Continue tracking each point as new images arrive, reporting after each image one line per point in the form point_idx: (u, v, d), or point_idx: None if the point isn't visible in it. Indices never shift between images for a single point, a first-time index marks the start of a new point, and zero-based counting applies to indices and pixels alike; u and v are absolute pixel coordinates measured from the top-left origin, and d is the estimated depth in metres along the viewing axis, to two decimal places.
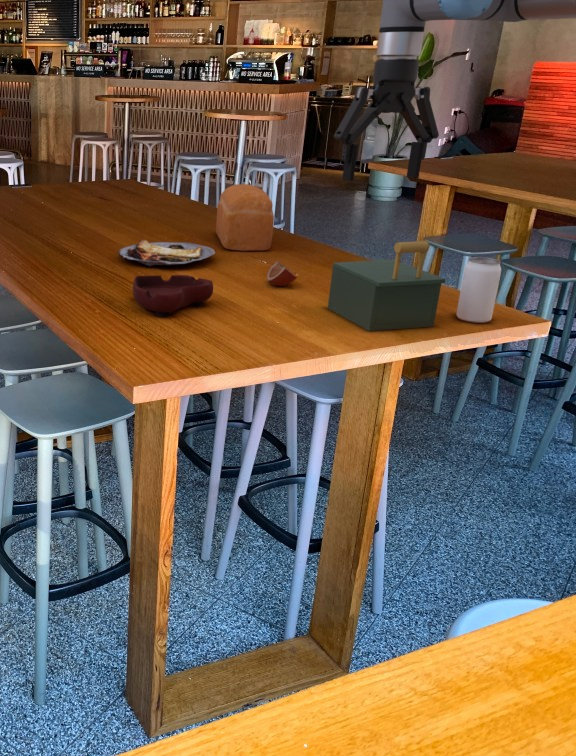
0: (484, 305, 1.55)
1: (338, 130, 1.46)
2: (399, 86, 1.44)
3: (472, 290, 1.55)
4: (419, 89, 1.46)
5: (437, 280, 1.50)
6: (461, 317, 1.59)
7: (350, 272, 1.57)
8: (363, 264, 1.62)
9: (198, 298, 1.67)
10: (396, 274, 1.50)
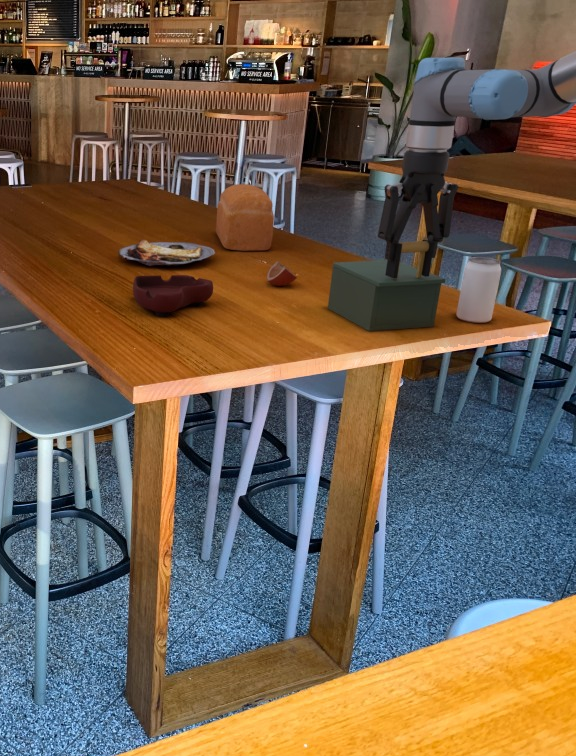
0: (484, 305, 1.55)
1: (380, 230, 1.47)
2: (429, 177, 1.43)
3: (472, 290, 1.55)
4: (448, 184, 1.45)
5: (437, 280, 1.50)
6: (461, 317, 1.59)
7: (350, 272, 1.57)
8: (363, 264, 1.62)
9: (198, 298, 1.67)
10: None
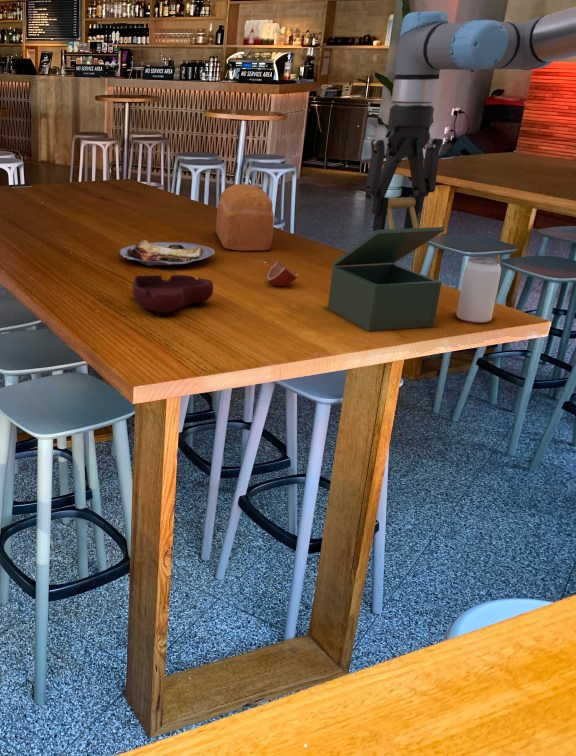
0: (484, 305, 1.55)
1: (367, 185, 1.50)
2: (414, 131, 1.46)
3: (472, 290, 1.55)
4: (433, 138, 1.48)
5: (436, 228, 1.49)
6: (461, 317, 1.59)
7: (350, 252, 1.57)
8: None
9: (198, 298, 1.67)
10: (392, 227, 1.50)
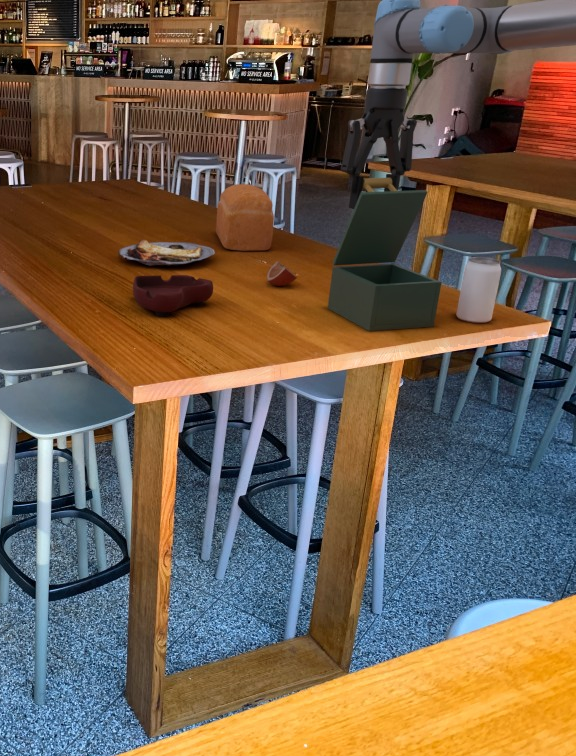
0: (484, 305, 1.55)
1: (343, 164, 1.57)
2: (389, 113, 1.53)
3: (472, 290, 1.55)
4: (407, 120, 1.55)
5: (418, 190, 1.54)
6: (461, 317, 1.59)
7: (344, 237, 1.59)
8: None
9: (198, 298, 1.67)
10: None
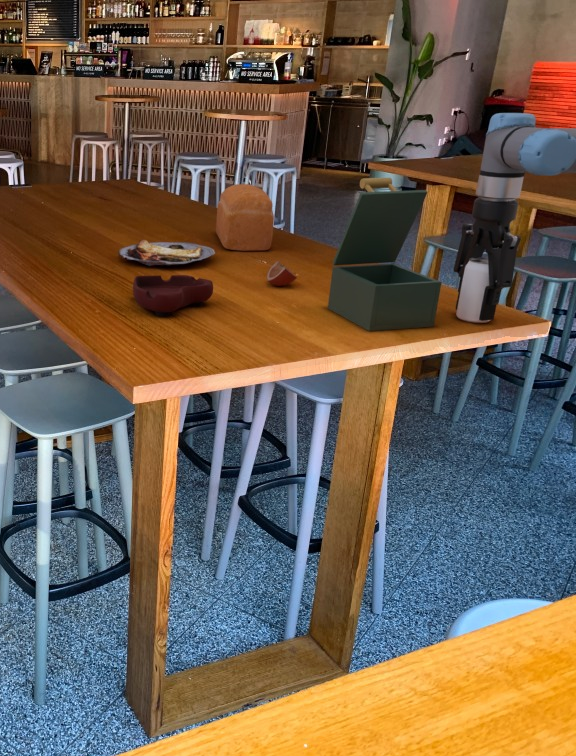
0: None
1: None
2: (488, 224, 1.52)
3: (472, 290, 1.55)
4: (507, 235, 1.48)
5: (418, 190, 1.54)
6: (461, 317, 1.59)
7: (344, 237, 1.59)
8: None
9: (198, 298, 1.67)
10: None
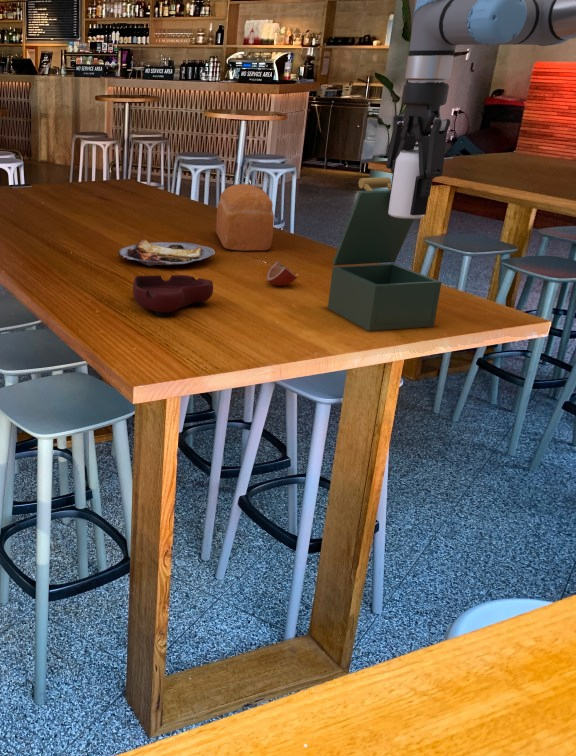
0: None
1: None
2: (418, 109, 1.43)
3: (403, 183, 1.46)
4: (436, 119, 1.39)
5: None
6: (392, 214, 1.49)
7: (343, 236, 1.59)
8: None
9: (198, 298, 1.67)
10: None
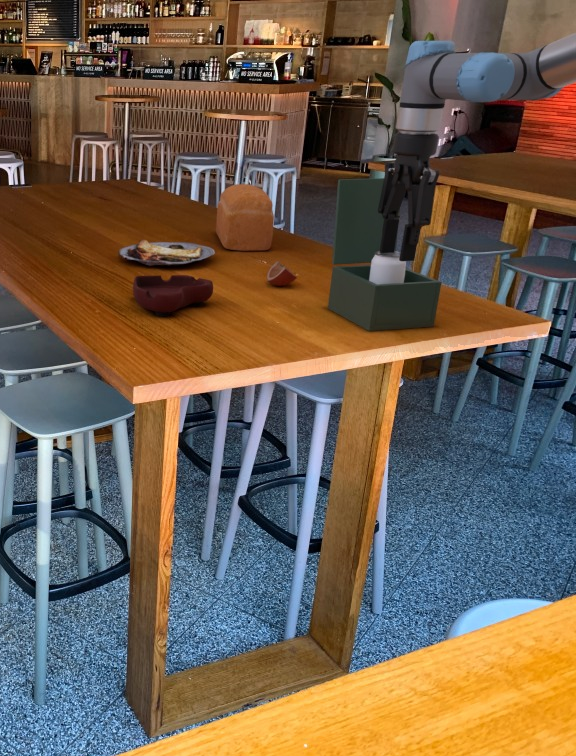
0: None
1: None
2: (409, 159, 1.46)
3: (377, 283, 1.56)
4: (426, 170, 1.42)
5: None
6: None
7: (335, 230, 1.62)
8: None
9: (198, 298, 1.67)
10: None
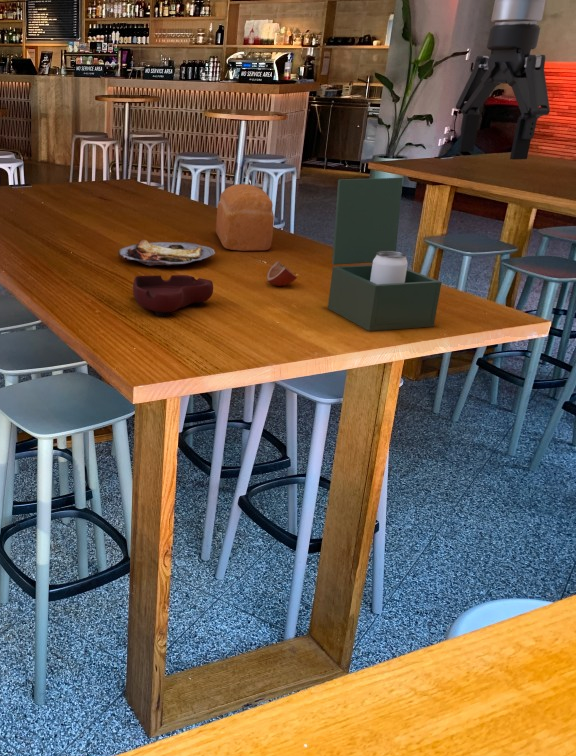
0: None
1: None
2: (506, 54, 1.34)
3: (377, 283, 1.56)
4: None
5: None
6: None
7: (335, 230, 1.62)
8: None
9: (198, 298, 1.67)
10: None
